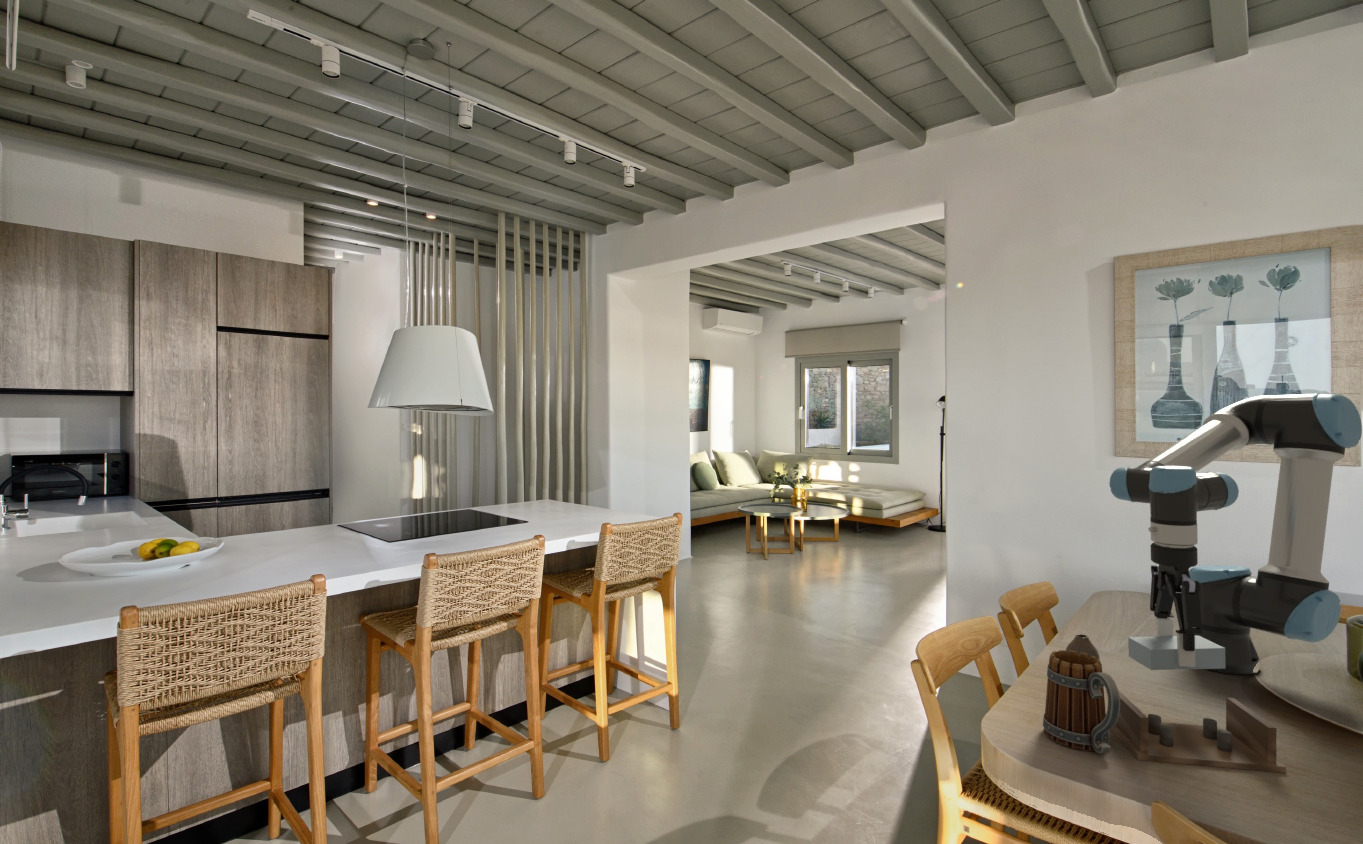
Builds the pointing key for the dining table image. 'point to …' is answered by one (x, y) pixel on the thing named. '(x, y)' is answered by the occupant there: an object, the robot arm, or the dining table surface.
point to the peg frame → (1201, 739)
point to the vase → (1082, 646)
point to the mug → (1079, 702)
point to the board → (1174, 653)
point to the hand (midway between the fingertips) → (1175, 657)
